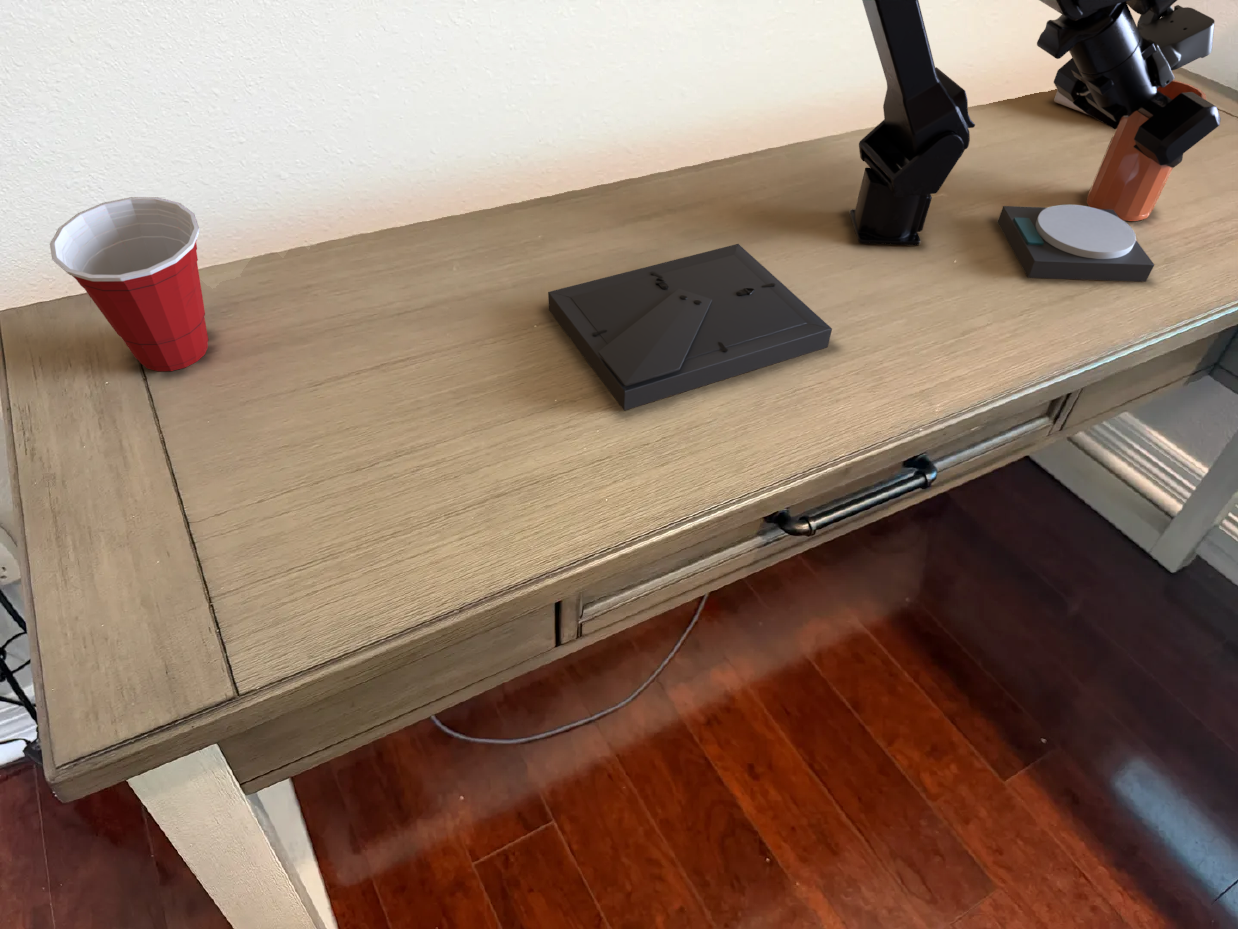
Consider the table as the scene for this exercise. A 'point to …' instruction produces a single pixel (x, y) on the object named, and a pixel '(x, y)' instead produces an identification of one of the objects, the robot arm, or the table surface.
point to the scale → (1074, 243)
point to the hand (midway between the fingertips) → (1154, 148)
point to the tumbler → (1132, 168)
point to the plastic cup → (140, 275)
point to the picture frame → (685, 324)
